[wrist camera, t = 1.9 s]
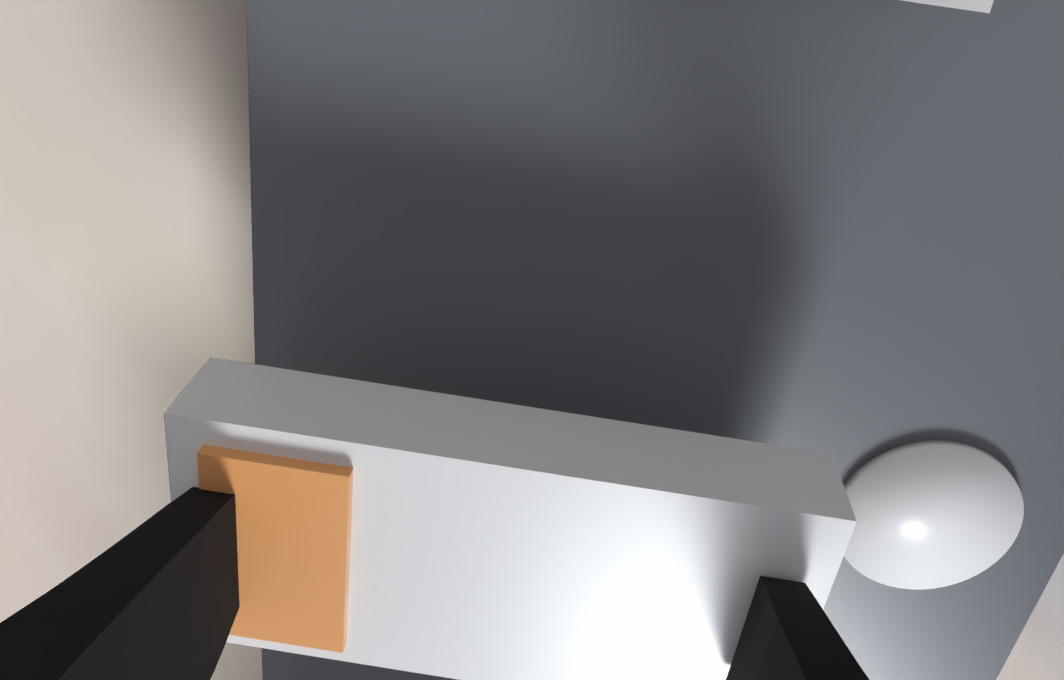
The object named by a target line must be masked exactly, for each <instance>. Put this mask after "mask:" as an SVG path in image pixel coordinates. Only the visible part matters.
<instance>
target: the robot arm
mask: <svg viewBox="0 0 1064 680" xmlns="http://www.w3.org/2000/svg"><path fill="white" fill-rule="evenodd" d="M239 607H240V604H239V579H238V553H237V528H236V503H235V495H234V494H228V493H222V492H215V491H209V490H202V489H199V488H198V487H192V488H190V489H189V490H187V491H186V492H185V493H183V494H182V495H180V496H179V497H178V498H176V499H175V500H173V501H172V502H171V503H169V504H168V505H167V506H165V507H164V508H163V509H161V510H160V511H159V512H157V513H156V514H155V515H153V516H152V517H151V518H149V519H148V520H147V521H145V522H144V523H143V524H141V525H140V526H139V527H137V528H136V529H135V530H133V531H132V532H131V533H129V534H128V535H127V536H125V537H124V538H123V539H121V540H120V541H118V542H117V543H116V544H114V545H113V546H112V547H110V548H109V549H108V550H106V551H105V552H103V553H102V554H101V555H99V556H98V557H96V558H95V559H94V560H92V561H91V562H89V563H88V564H87V565H85V566H84V567H82V568H81V569H80V570H78V571H77V572H75V573H74V574H73V575H71V576H70V577H68V578H67V579H66V580H64V581H63V582H61V583H60V584H59V585H57V586H56V587H54V588H53V589H51V590H50V591H48V592H47V593H45V594H44V595H42V596H41V597H39V598H38V599H36V600H35V601H33V602H32V603H30V604H29V605H27V606H25V607H24V608H22V609H21V610H19V611H18V612H16V613H15V614H13V615H12V616H10V617H9V618H7V619H6V620H4V621H3V622H1V623H0V680H210V678H211V676H212V675H213V673H214V670H215V668H216V665H217V663H218V660H219V658H220V656H221V653H222V651H223V648H224V646H225V643H226V641H227V638H228V636H229V633H230V630H231V628H232V625H233V623H234V620H235V617H236V615H237V612H238V610H239ZM726 680H869V678H868V677H867V675H866V674H865V672H864V671H863V670H862V668H861V667H860V665H859V664H858V662H857V661H856V659H855V658H854V656H853V655H852V653H851V651H850V650H849V648H848V647H847V645H846V644H845V642H844V641H843V639H842V638H841V636H840V635H839V633H838V632H837V630H836V629H835V627H834V626H833V624H832V623H831V621H830V619H829V618H828V616H827V615H826V613H825V612H824V610H823V609H822V607H821V606H820V604H819V603H818V601H817V599H816V598H815V596H814V595H813V593H812V592H811V590H810V589H809V588H808V586H807V585H806V583H803V582H797V581H791V580H784V579H778V578H772V577H765V576H760V578H759V581H758V584H757V587H756V590H755V593H754V596H753V599H752V602H751V605H750V608H749V611H748V614H747V617H746V620H745V623H744V626H743V629H742V632H741V636H740V639H739V642H738V645H737V648H736V651H735V654H734V657H733V660H732V663H731V666H730V669H729V672H728V675H727V678H726Z"/></svg>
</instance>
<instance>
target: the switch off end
mask: <svg viewBox="0 0 1064 680" xmlns="http://www.w3.org/2000/svg"><path fill="white" fill-rule="evenodd" d="M901 1H908V2H914V3H921V4H928V5H935V6H942V7H949V8H956V9H963V10H969V11H976V12H983V13H990V10H991V7H992V4H993V1H994V0H901Z"/></svg>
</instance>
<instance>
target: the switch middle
mask: <svg viewBox="0 0 1064 680" xmlns="http://www.w3.org/2000/svg"><path fill="white" fill-rule="evenodd" d="M164 421H165V433H166V446H167V458H168V470H169V482H170V494H171V502H172V501H173V500H175V499H176V498H178V497H179V496H180V495H182V494H183V493H185V492H186V491H187V490H189V489H190V488H192V487H198V488H199V489H202V490H209V491H215V492H222V493H228V494H234V495H235V503H236V528H237V553H238V579H239V604H240V607H239V610H238V612H237V615H236V617H235V620H234V623H233V625H232V628H231V630H230V633H229V636H228V638H227V641H226V642H227V643H234V644H240V645H246V646H252V647H259V648H265V649H271V650H277V651H283V652H290V653H296V654H302V655H308V656H315V657H321V658H327V659H333V660H339V661H346V662H352V663H358V664H364V665H371V666H377V667H383V668H389V669H395V670H402V671H408V672H414V673H420V674H427V675H433V676H439V677H445V678H452V679H458V680H726V678H727V675H728V672H729V669H730V666H731V663H732V660H733V657H734V654H735V651H736V648H737V645H738V642H739V639H740V636H741V632H742V629H743V626H744V623H745V620H746V617H747V614H748V611H749V608H750V605H751V602H752V599H753V596H754V593H755V590H756V587H757V584H758V581H759V578H760V576H765V577H772V578H778V579H784V580H791V581H797V582H803V583H806V585H807V586H808V588H809V589H810V590H811V592H812V593H813V595H814V596H815V598H816V599H817V601H818V603H819V604H820V606H821V607H822V609H824V606H825V604H826V601H827V598H828V596H829V593H830V590H831V588H832V585H833V583H834V580H835V577H836V575H837V572H838V570H839V567H840V564H841V562H842V559H843V556H844V554H845V551H846V549H847V546H848V543H849V541H850V538H851V536H852V533H853V530H854V528H855V525H856V522H857V520H856V518H855V515H854V512H853V509H852V507H851V504H850V501H849V498H848V496H847V493H846V490H845V487H844V485H843V482H842V479H841V476H840V474H839V471H838V468H837V465H836V463H835V460H834V457H833V454H831V453H825V452H819V451H812V450H806V449H799V448H793V447H786V446H780V445H773V444H767V443H760V442H754V441H747V440H741V439H735V438H728V437H722V436H715V435H709V434H702V433H696V432H689V431H683V430H676V429H670V428H664V427H657V426H651V425H644V424H638V423H631V422H625V421H618V420H612V419H605V418H599V417H593V416H586V415H580V414H573V413H567V412H560V411H554V410H547V409H541V408H534V407H528V406H521V405H515V404H509V403H502V402H496V401H489V400H483V399H476V398H470V397H463V396H457V395H450V394H444V393H438V392H431V391H425V390H418V389H412V388H405V387H399V386H392V385H386V384H379V383H373V382H367V381H360V380H354V379H347V378H341V377H334V376H328V375H321V374H315V373H308V372H302V371H295V370H289V369H283V368H276V367H270V366H263V365H257V364H250V363H244V362H237V361H231V360H224V359H218V358H212V357H211V358H210V359H209V360H208V361H207V362H206V364H205V365H204V366H203V367H202V368H201V370H200V371H199V372H198V373H197V374H196V376H195V377H194V378H193V379H192V380H191V381H190V383H189V384H188V385H187V386H186V387H185V389H184V390H183V391H182V392H181V393H180V395H179V396H178V397H177V398H176V399H175V401H174V402H173V403H172V404H171V405H170V406H169V408H168V409H167V410H166V411H165V412H164Z"/></svg>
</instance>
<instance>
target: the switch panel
mask: <svg viewBox="0 0 1064 680" xmlns="http://www.w3.org/2000/svg"><path fill="white" fill-rule="evenodd" d="M246 1H247V43H248V84H249V126H250V168H251V209H252V251H253V293H254V334H255V364H257V365H263V366H270V367H276V368H283V369H289V370H295V371H302V372H308V373H315V374H321V375H328V376H334V377H341V378H347V379H354V380H360V381H367V382H373V383H379V384H386V385H392V386H399V387H405V388H412V389H418V390H425V391H431V392H438V393H444V394H450V395H457V396H463V397H470V398H476V399H483V400H489V401H496V402H502V403H509V404H515V405H521V406H528V407H534V408H541V409H547V410H554V411H560V412H567V413H573V414H580V415H586V416H593V417H599V418H605V419H612V420H618V421H625V422H631V423H638V424H644V425H651V426H657V427H664V428H670V429H676V430H683V431H689V432H696V433H702V434H709V435H715V436H722V437H728V438H735V439H741V440H747V441H754V442H760V443H767V444H773V445H780V446H786V447H793V448H799V449H806V450H812V451H819V452H825V453H831V454H833V457H834V460H835V463H836V465H837V468H838V471H839V474H840V476H841V479H842V482H843V485H844V487H845V490H846V493H847V496H848V498H849V501H850V504H851V507H852V509H853V512H854V515H855V518H856V520H857V522H856V525H855V528H854V530H853V533H852V536H851V538H850V541H849V543H848V546H847V549H846V551H845V554H844V556H843V559H842V562H841V564H840V567H839V570H838V572H837V575H836V577H835V580H834V583H833V585H832V588H831V590H830V593H829V596H828V598H827V601H826V604H825V606H824V609H823V610H824V612H825V613H826V615H827V616H828V618H829V619H830V621H831V623H832V624H833V626H834V627H835V629H836V630H837V632H838V633H839V635H840V636H841V638H842V639H843V641H844V642H845V644H846V645H847V647H848V648H849V650H850V651H851V653H852V655H853V656H854V658H855V659H856V661H857V662H858V664H859V665H860V667H861V668H862V670H863V671H864V672H865V674H866V675H867V677H868V678H869V680H996V679H997V677H998V675H999V673H1000V671H1001V669H1002V667H1003V665H1004V664H1005V662H1006V660H1007V658H1008V656H1009V654H1010V652H1011V650H1012V649H1013V647H1014V645H1015V643H1016V641H1017V639H1018V637H1019V636H1020V634H1021V632H1022V630H1023V628H1024V626H1025V624H1026V622H1027V621H1028V619H1029V617H1030V615H1031V613H1032V611H1033V609H1034V607H1035V606H1036V604H1037V602H1038V600H1039V598H1040V596H1041V594H1042V592H1043V591H1044V589H1045V587H1046V585H1047V583H1048V581H1049V579H1050V577H1051V576H1052V574H1053V572H1054V570H1055V568H1056V566H1057V564H1058V562H1059V561H1060V559H1061V557H1062V555H1063V553H1064V0H994V1H993V4H992V7H991V10H990V13H983V12H976V11H969V10H963V9H956V8H949V7H942V6H935V5H928V4H921V3H914V2H908V1H901V0H246ZM262 667H263V680H458V679H452V678H445V677H439V676H433V675H427V674H420V673H414V672H408V671H402V670H395V669H389V668H383V667H377V666H371V665H364V664H358V663H352V662H346V661H339V660H333V659H327V658H321V657H315V656H308V655H302V654H296V653H290V652H283V651H277V650H271V649H265V648H262Z"/></svg>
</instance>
